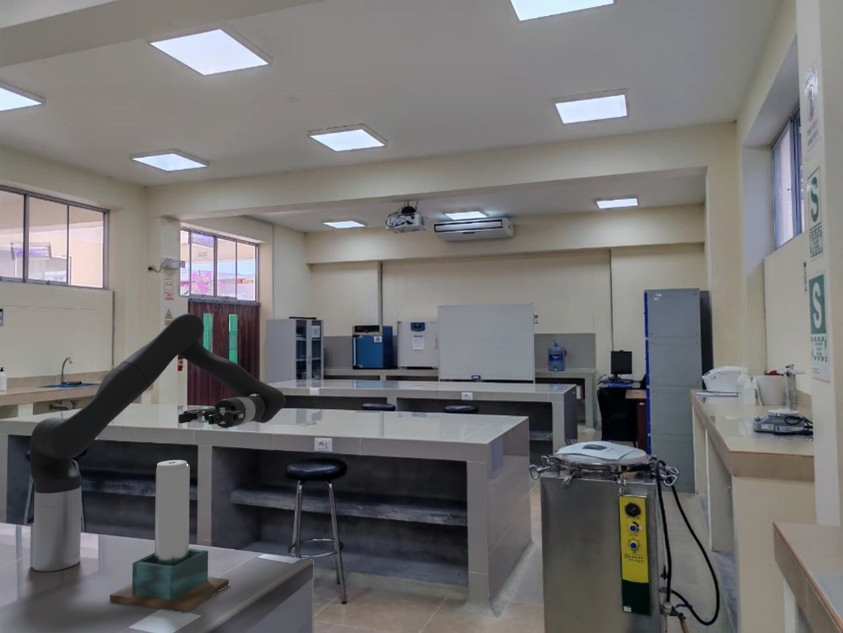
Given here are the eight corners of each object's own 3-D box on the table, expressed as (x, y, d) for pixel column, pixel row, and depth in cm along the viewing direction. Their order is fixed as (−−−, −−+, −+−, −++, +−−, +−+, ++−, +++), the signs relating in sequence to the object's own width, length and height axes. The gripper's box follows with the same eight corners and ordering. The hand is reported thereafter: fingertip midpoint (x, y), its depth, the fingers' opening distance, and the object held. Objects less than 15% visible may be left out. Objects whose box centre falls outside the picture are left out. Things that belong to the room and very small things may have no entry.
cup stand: (109, 601, 117) (110, 563, 117) (157, 575, 129) (157, 542, 129) (186, 612, 111) (187, 573, 112) (228, 585, 124) (228, 550, 124)
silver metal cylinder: (176, 594, 117) (177, 465, 118) (147, 591, 118) (148, 464, 119) (195, 581, 123) (196, 459, 124) (167, 579, 124) (168, 458, 125)
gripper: (212, 397, 161) (170, 403, 145) (258, 398, 157) (220, 404, 141) (211, 425, 161) (169, 434, 145) (258, 426, 156) (219, 436, 141)
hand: (194, 419), depth 143 cm, fingers open, 8 cm apart
